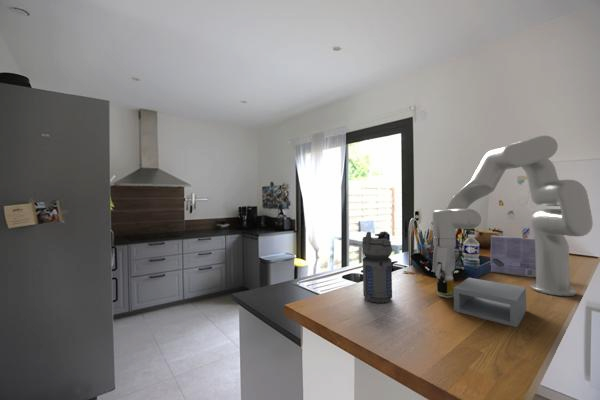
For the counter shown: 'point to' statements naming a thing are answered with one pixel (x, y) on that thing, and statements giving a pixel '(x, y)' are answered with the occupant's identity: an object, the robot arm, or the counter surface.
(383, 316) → the counter surface
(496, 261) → the cake pan box
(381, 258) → the beverage bottle
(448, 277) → the supplement bottle
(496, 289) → the shelf unit
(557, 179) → the robot arm
